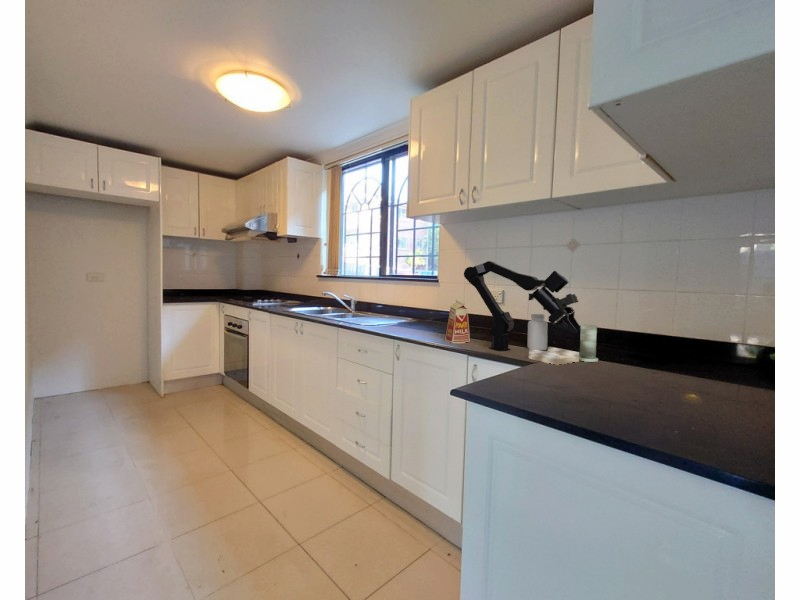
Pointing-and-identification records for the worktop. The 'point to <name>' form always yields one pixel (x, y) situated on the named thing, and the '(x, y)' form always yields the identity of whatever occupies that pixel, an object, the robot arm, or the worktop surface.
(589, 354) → the pale green cylinder
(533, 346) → the pill bottle
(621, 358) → the worktop surface
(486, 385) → the worktop surface
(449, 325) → the milk carton
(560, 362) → the mottled cream slab
